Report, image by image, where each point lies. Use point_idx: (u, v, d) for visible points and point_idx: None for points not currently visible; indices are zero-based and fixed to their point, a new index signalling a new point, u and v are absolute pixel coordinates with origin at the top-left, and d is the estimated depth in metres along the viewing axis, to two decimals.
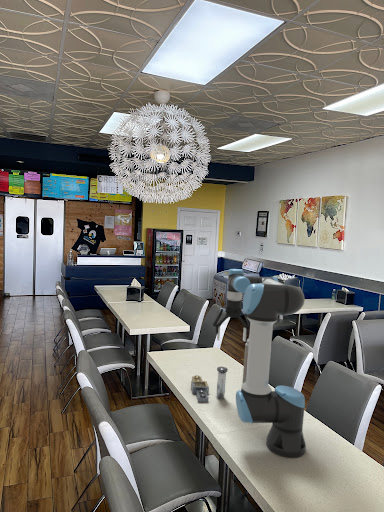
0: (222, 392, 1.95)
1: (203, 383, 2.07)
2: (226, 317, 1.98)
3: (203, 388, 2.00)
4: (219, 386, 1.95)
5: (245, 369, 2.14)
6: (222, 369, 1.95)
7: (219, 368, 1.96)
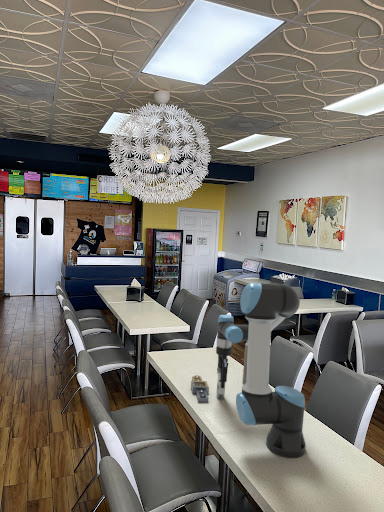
0: None
1: (203, 383, 2.07)
2: (218, 364, 1.98)
3: (203, 388, 2.00)
4: None
5: (245, 369, 2.14)
6: None
7: (219, 368, 1.96)
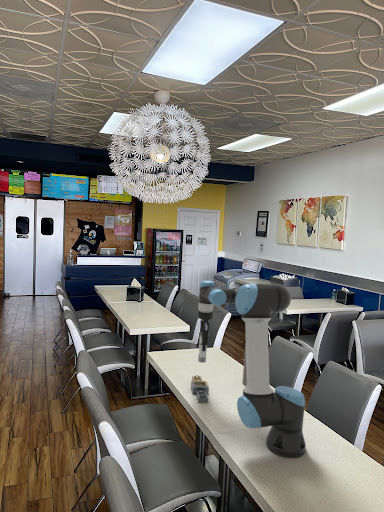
0: None
1: (203, 383, 2.07)
2: (200, 328, 2.03)
3: (203, 388, 2.00)
4: None
5: (245, 369, 2.14)
6: None
7: (201, 332, 2.01)
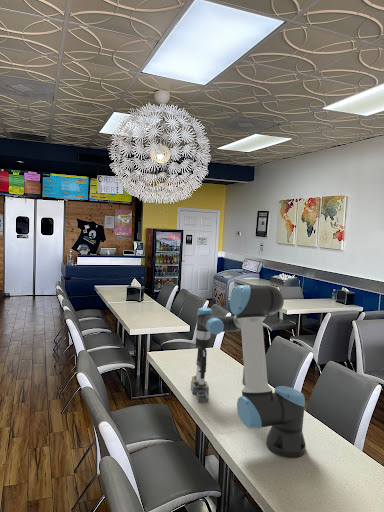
0: (201, 385, 2.02)
1: None
2: (198, 354, 2.05)
3: (203, 388, 2.00)
4: (198, 379, 2.01)
5: None
6: None
7: (198, 362, 2.03)
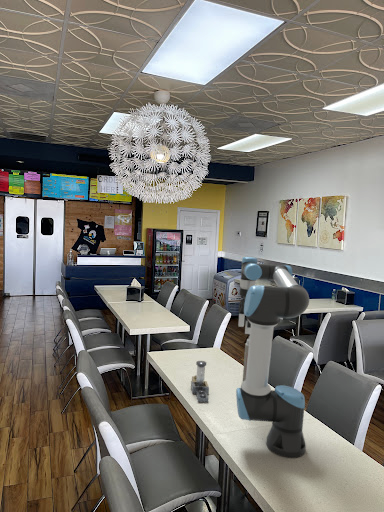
0: (201, 385, 2.02)
1: None
2: (241, 304, 1.99)
3: (203, 388, 2.00)
4: (198, 379, 2.01)
5: (245, 369, 2.14)
6: (201, 363, 2.01)
7: (198, 362, 2.03)
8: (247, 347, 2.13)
